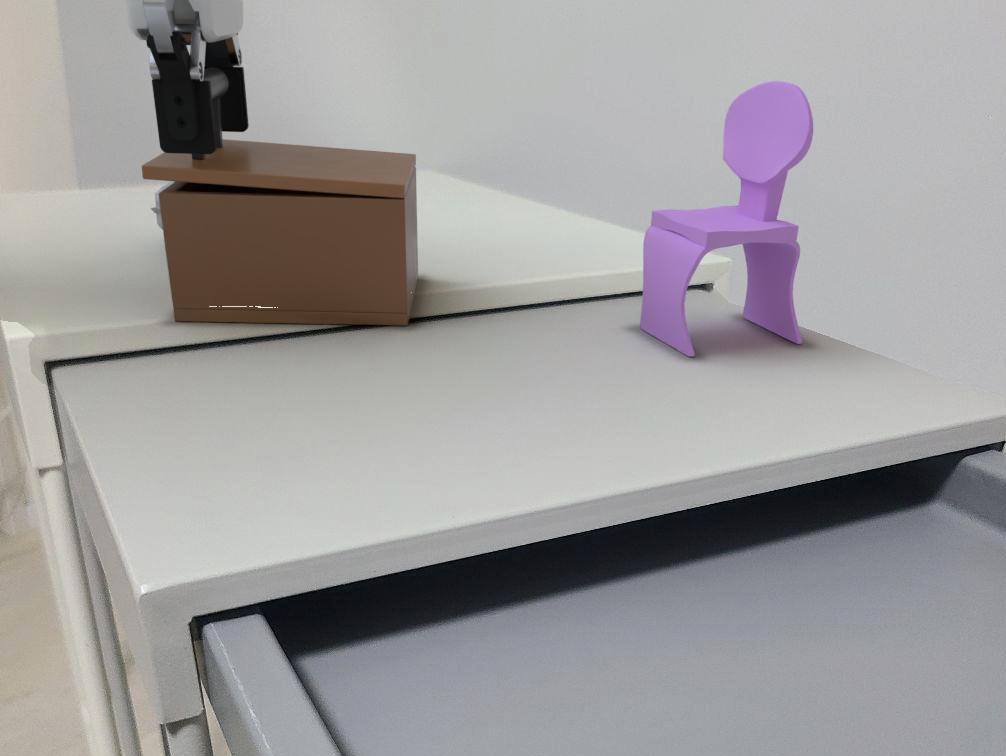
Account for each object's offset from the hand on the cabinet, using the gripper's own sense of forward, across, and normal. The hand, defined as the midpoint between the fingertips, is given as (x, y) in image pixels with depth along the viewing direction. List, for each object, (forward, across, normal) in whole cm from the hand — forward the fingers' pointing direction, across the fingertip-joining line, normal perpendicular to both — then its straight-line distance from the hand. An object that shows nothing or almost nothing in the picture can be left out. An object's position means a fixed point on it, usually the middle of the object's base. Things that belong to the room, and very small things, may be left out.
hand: (207, 141), depth 68 cm
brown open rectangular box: (+10, 0, +6) cm, 11 cm away
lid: (+2, 0, +5) cm, 5 cm away
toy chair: (+10, +7, +32) cm, 35 cm away
